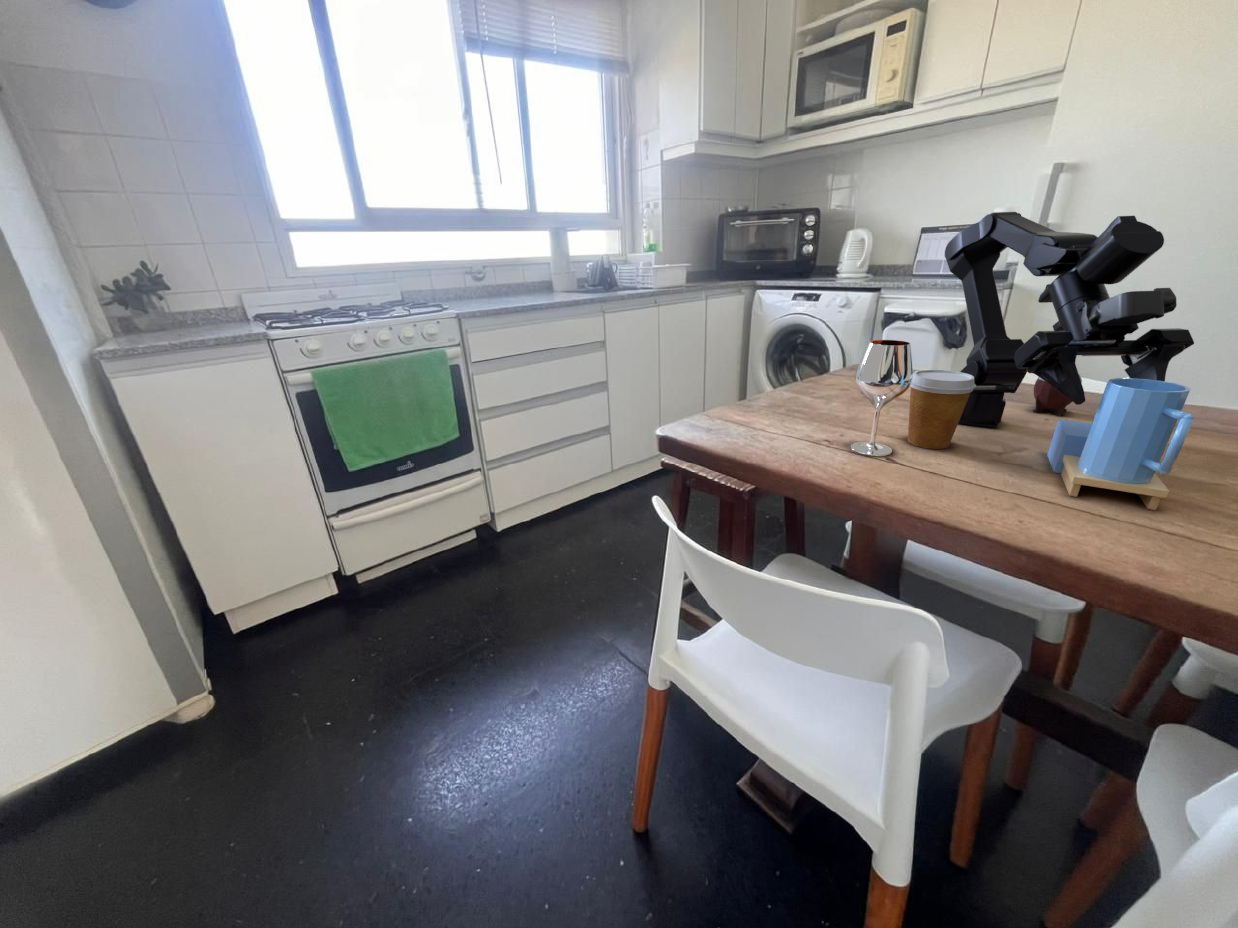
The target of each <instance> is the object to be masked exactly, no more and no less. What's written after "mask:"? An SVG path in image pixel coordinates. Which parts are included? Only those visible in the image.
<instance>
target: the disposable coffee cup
mask: <svg viewBox="0 0 1238 928" xmlns="http://www.w3.org/2000/svg"><path fill="white" fill-rule="evenodd" d="M975 387H976V385H975V384H974V376H972V375H970V374H966V373H962V372H960V371H956V370H948V369H947V370H945V369H919V370H916V371H913V379H912V383H911V385H910V395H909V408H908V409H909V410H908V411H909V412H908V426H907V442H908V443H909V444H911V445H913V446H916V447H920V448H922V449H923V448H924V449H931V450H942V449H948V448H949V447H950V445H951V441H952V440H953V437H954V435H955V432H956V430H957V428H958V426H959V424H958V422H959V420H960V418H961V415H962V413H963V410H964V408H965V405H966V403H967V400H968V398H969V395H970V393H971V392H972V391H973V389H974V388H975Z"/></svg>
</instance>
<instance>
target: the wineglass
mask: <svg viewBox="0 0 1238 928" xmlns="http://www.w3.org/2000/svg"><path fill="white" fill-rule="evenodd" d="M913 365H914V364H913V355H912V346H911V342H910V341H905V340H898V339H877V340H876V339H875V340H874V339H873V340H870V341H869V342H868V344H867V346H866V348H865V350H864V353H863V355H862V357H861V359H860V361H859V364H858V367H857V369H856V373H855V377H854V379H855V384H856V387H857V389H858V390H859V392H860V393H861V394H862V395H863V396H864V397H865V398H866V399H867V400H868V401H869V403H871V405H872V406H873V408H874V411H873V412H874V414H873V419H872V425H871V431H870V435H869V439H868V441H856V442H853V443H851V444H850V450H851V451H853V452H855V453H857V454H860V455H864V456H868V457H869V456H870V457H886V456H889V455H891V454H892V452H893V449H892V448H891V447H890V446H888V445H886V444H883V443H880V442H876V438H877V430H878V425H879V419H880V414H881V410H882V409H883V408H884V407H885V406H886V405H888V404H889V403H891V402H893V401H895V400H896V399H898V398H899V397H901V396H902V395H903V394H905V393H906V392H907V391H908V390H909V389H910V388H911V386H910V385H911V383H912V379H913V373H914V367H913Z"/></svg>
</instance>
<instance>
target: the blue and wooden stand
mask: <svg viewBox="0 0 1238 928" xmlns="http://www.w3.org/2000/svg"><path fill="white" fill-rule="evenodd" d="M1092 424H1093V422H1084V421H1075V420H1066V419H1058V420H1057V424H1056V427H1055V430H1054V433H1053V436H1052V439H1051V442H1050V446H1049V448H1048V450H1047V454H1046V455H1047V459H1048V461H1049V463H1050V466H1051V470H1052V472H1053V473H1056V474H1060V476H1061V478H1062V481H1063V483H1064V486H1065V488H1066V491H1067V493H1068V496H1070V497H1075V498H1077V497H1078V495H1079V492H1080V489H1081V487H1082V486H1087V487H1093V488H1099V489H1106V490H1110V491H1111V490H1112V491H1118V492H1123V493H1124V492H1125V493H1130V494H1131V493H1132V494H1136V495H1137V496H1138V497H1139V499H1140V500H1141V502H1142V503H1143V504H1144V506H1145V507H1146V509H1147V510H1152V511H1156V510H1157V509H1158V507H1159V504H1160V503H1161V499H1162V498H1163V499H1167V498H1168V496H1169V494H1170V490H1169V489H1168V487H1167V486H1166V485H1165V484H1164V483H1163V481H1162V480H1161V479H1160V477H1159V476H1158V475H1157V474H1156V473H1155V474H1154V476H1153V478H1152V480H1151V482H1149V483H1145V484H1129V483H1120V482H1114V481H1109V480H1105V479H1101V478H1098V477H1095V476H1092V475H1089V474H1087V473H1085V472H1083V471H1081V470H1080V469H1079V468H1078V464H1079V460H1080V457H1081V454H1082V452H1083V449H1084V446H1085V443H1086V440H1087V438H1088V435H1089V432H1090V429H1091V426H1092Z"/></svg>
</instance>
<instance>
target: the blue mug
mask: <svg viewBox="0 0 1238 928" xmlns="http://www.w3.org/2000/svg"><path fill="white" fill-rule="evenodd" d="M1190 392H1191V387H1188V386H1186V385H1183V384H1180V383H1175V382H1170V381H1166V380H1165V381H1159V380H1150V379H1138V378H1130V377H1116V378H1115V377H1114V378H1110V379H1109V380H1107V382H1106V385H1105V387H1104V390H1103V393H1102V396H1101V399H1100V401H1099V404H1098V407H1097V410H1096V413H1095V415H1094V418H1093V421H1092V423H1093V424H1092V426H1091V429H1090V432H1089V435H1088V438H1087V440H1086V443H1085V446H1084V449H1083V452H1082V454H1081V457H1080V460H1079V464H1078V468H1079V469H1080V470H1081V471H1083V472H1085V473H1087V474H1089V475H1092V476H1095V477H1098V478H1101V479H1105V480H1109V481H1114V482H1120V483H1129V484H1145V483H1149V482H1151V480H1152V478H1153V476H1154V474H1156V473H1158V474H1161V475H1165V476H1166V475H1169V474H1170V473H1171V472H1172V470H1173V468H1174V465H1175V463H1176V462H1177V461H1176V460H1177V458H1178V456H1179V455H1180V452H1181V449H1182V447H1183V445H1184V443H1185V440H1186V438H1187V436H1188V434H1189V431H1190V430H1191V427H1192V425H1193V422H1194V421H1195V415H1193V414H1192V413H1189V412H1186V411H1183V408H1184V406H1185V404H1186V401H1187V399H1188V397H1189V394H1190ZM1178 421H1179V422H1178ZM1176 425H1177V426H1176ZM1175 427H1176V429H1175ZM1174 429H1175V431H1174ZM1173 431H1174V433H1173ZM1172 434H1173V435H1172ZM1171 436H1172V437H1171ZM1170 438H1171V440H1170ZM1169 441H1170V442H1169ZM1168 443H1169V444H1168ZM1167 445H1168V447H1167ZM1166 448H1167V450H1166ZM1165 450H1166V452H1165ZM1164 452H1165V454H1164ZM1163 454H1164V456H1163ZM1162 457H1163V459H1162ZM1161 460H1162V461H1161Z"/></svg>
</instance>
